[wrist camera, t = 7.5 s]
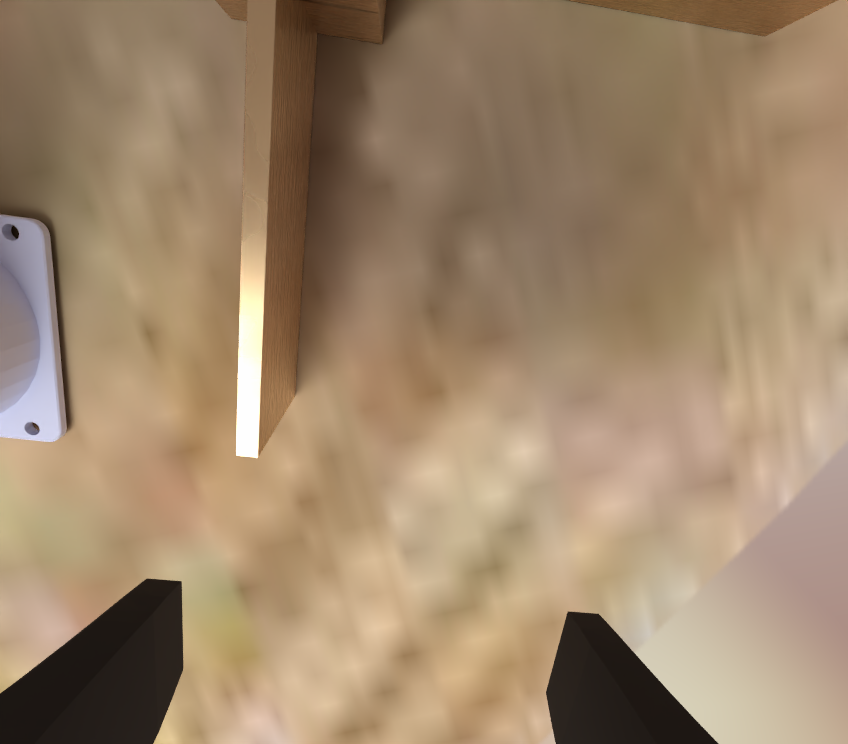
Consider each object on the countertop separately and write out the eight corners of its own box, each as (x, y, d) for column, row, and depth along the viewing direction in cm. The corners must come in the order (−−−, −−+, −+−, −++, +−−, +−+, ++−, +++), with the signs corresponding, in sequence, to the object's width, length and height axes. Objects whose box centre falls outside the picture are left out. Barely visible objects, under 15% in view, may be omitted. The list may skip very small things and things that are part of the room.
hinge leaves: (225, 387, 18) (163, 447, 14) (234, -175, 14) (143, -386, 9) (646, 435, 20) (723, 505, 15) (794, -63, 15) (978, -194, 10)
